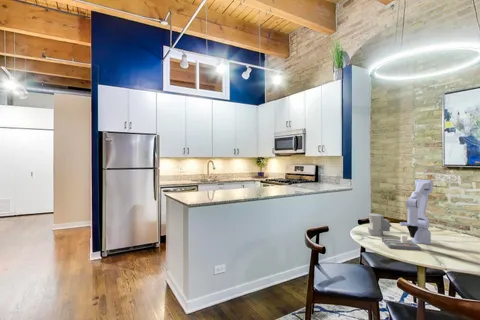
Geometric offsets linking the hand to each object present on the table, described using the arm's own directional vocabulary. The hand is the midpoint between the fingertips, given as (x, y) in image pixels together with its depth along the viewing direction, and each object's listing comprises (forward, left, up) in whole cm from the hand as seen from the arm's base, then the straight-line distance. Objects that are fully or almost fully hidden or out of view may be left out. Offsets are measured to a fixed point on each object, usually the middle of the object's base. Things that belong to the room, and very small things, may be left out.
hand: (412, 237), depth 168 cm
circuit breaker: (+12, -23, -6) cm, 27 cm away
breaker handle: (+5, 0, -4) cm, 6 cm away
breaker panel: (+7, 0, -6) cm, 9 cm away
